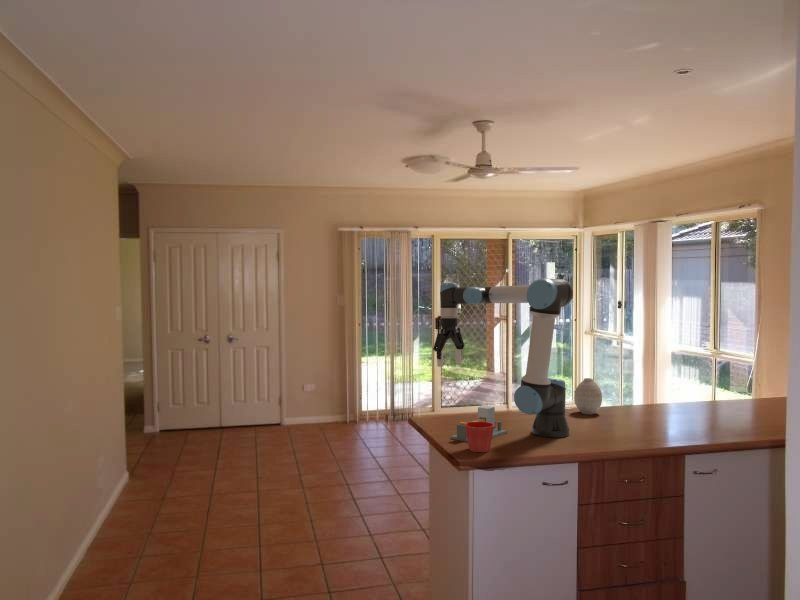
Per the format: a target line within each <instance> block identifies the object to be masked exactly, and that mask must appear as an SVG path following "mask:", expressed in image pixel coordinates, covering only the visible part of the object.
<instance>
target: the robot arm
mask: <svg viewBox="0 0 800 600" xmlns="http://www.w3.org/2000/svg"><path fill="white" fill-rule="evenodd" d="M439 290H440V291H439V294H440V295H439V296H440V297H439V298H440V317H441V318H440V326H441V327H442V328H438V329H437V333H436V337H435V342H434V345H433V348H432V349H433V351H434V352H436V367H439V368H444V351H443V350H444V347H445V344H446V343H447V340H449V339H451V340H452V342H453V345H454V346H455V349H454V354H455V355H454V357H455V359H454V360H455V361H454V363H455V364H458V365H461V364H462V350H464V348H465V343H464V339H463V336H462V334H461V328H460V327H458V305H470V306H471V305H481V304H484V305H485V304H486V305H487V304H529V306H530V307H529V312H530V313H531V314H532V321H531V330H530V336H529V337H530V338H529V345H528V355H527V361H526V370H525V375H523V376H522V377H521V378H520V379H521V380H520V386H519V387H518V388H516V389H515V391H514V394H513V400H514V404H515V406H516V407H517V409H518V410H519V411H520V412H521V413H523V414H524V415H529V416H530V415H535V417H534V420H533V424H532V428H531V433H532V434H533V435H534V436H539V437H545V438H564V437H565V438H566V437H568V436H569V435H570V427H569V426H570V425H569V424H568V421H567V418H566V393H567V391H566V390H567V387H566V381H565V380H563V379H560V378H559V379H558V378H553V377H552V378H551V377H550V378H549V377H548V376H549V369H550V362H551V361H550V360H551V356H552V355H551V354H552V353H551V352H552V348H553V347H552V345H553V337H554V330H555V324H556V323H555V322H556V318H558V317H559V316H560V314H561V308H563V307H565V306H567V305H568V304H570V302H571V301H572V299H573V296H574V291H573V290H574V289H573V287H572V285H571V284H570V282H568V281H567V280H565V279H563V278H548V277H547V278H546V277H544V278H539V279H537V280H534V281H533V282H532V283H530V284H527V285H525V284H523V285H520V284H519V285H500V286H498V285H497V286H496V285H495V286H461V287H459V286H458V284H457V282H442V283H440V289H439Z"/></svg>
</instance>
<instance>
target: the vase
mask: <svg viewBox="0 0 800 600" xmlns="http://www.w3.org/2000/svg"><path fill="white" fill-rule="evenodd" d="M573 396H574V397H573V398H574V404H575V406H576V408H577V410H578V411H579V412H580V413H581V414H583V415H591V416H592V415H595V414H597V412H598V411H599V409H600V408H601V406H602V403H603V394H602V391H601V389H600V387H599V385H598V384H597V383H596V382H595V381H594V380H593V378H592V377H587V378H583V380H582V381H581V382H580V383H579V384H578V385H577V386H576V389H575V390H574V395H573Z"/></svg>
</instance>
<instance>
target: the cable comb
mask: <svg viewBox="0 0 800 600" xmlns="http://www.w3.org/2000/svg"><path fill="white" fill-rule="evenodd" d="M476 421H480V422H486V418H482V419H479V420H478V419H475V420H472V421H471V422H476ZM466 423H467V422H464V421H460V422H459V424H456V434H454V435H451V436H450V439H452V440H456V441H461V442H466V443H468V441H467V436H466V430H465V424H466ZM502 426H503V425H502V421H500V420H498V421H497V428H496V426H495V427H494V429H493V435H492V439H494V438H496V437H500V436H502V435H506V434H507V433H508V430H506V429H502ZM505 433H506V434H505Z"/></svg>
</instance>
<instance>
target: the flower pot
mask: <svg viewBox="0 0 800 600" xmlns="http://www.w3.org/2000/svg"><path fill="white" fill-rule="evenodd" d="M465 423H466V424H465V430H466V436H467V441H468V442H467V446H468V449H469V451H471V452H475V453H478V452H479V453H486V452H490V450H491V445H492V441H493V438H492V435H493V429H494V424H492V423H489V422H480V421H476V422H472V421H469V422H465Z"/></svg>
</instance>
